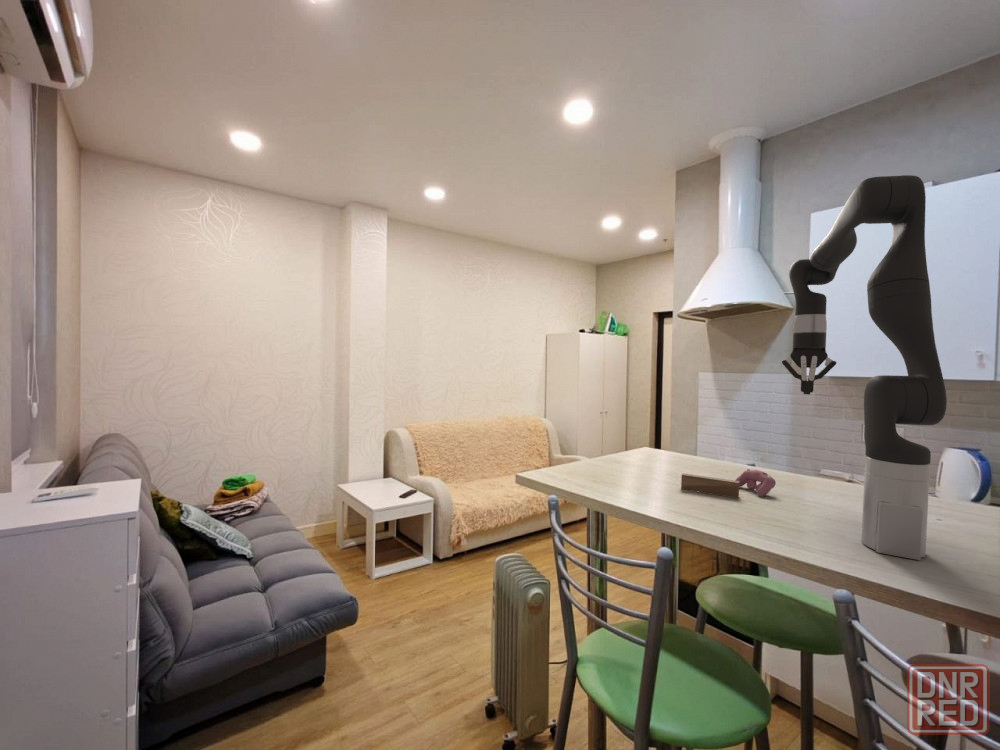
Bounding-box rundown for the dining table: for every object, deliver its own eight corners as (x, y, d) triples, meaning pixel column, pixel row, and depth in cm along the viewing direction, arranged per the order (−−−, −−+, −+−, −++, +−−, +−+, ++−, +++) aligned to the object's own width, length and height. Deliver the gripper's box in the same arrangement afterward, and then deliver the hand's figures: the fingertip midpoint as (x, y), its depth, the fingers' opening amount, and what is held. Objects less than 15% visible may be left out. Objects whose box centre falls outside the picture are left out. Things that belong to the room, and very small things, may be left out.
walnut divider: (738, 498, 115) (739, 482, 115) (681, 489, 122) (681, 474, 122) (738, 496, 117) (739, 481, 116) (682, 487, 124) (682, 473, 124)
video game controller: (771, 502, 117) (781, 478, 117) (758, 495, 116) (769, 471, 116) (742, 491, 126) (752, 469, 127) (730, 485, 125) (740, 463, 126)
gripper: (781, 331, 122) (779, 393, 123) (841, 330, 115) (838, 396, 116) (780, 333, 128) (778, 392, 129) (837, 332, 122) (834, 394, 122)
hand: (806, 394), depth 122 cm, fingers closed
